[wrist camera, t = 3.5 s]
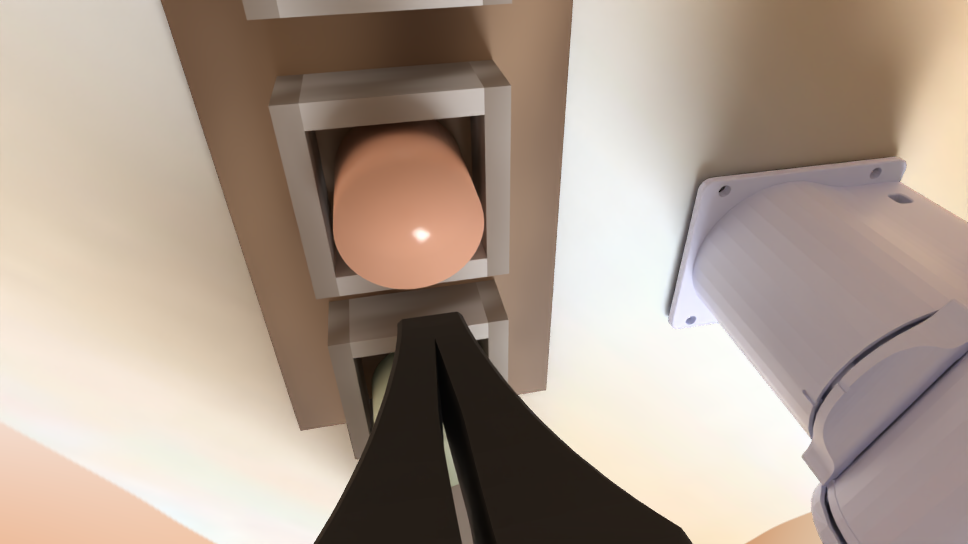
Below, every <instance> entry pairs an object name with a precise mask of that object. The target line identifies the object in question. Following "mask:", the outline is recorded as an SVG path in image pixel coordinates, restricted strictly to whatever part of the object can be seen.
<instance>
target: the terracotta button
mask: <svg viewBox="0 0 968 544" xmlns="http://www.w3.org/2000/svg"><path fill="white" fill-rule="evenodd" d="M483 230H484V215H483V209H482V205H481V203H480V200H479V197H478V195H477V192H476V190H475V187H474V185H473V182H472V180H471V177H470V174H469V172H468V169H467V167H466V164H465V162H464V159H463V157H462V154H461V151H460V149H459V147H458V144H457V142H456V141H455V139H454V137H453V136H452V135H451V133H450V132H449V131H448V130H447V129H446V128H445V127H444V126H443V125H442V124H440V123H439V122H437V121H436V120H434V119H432V120H421V121H410V122H400V123H389V124H378V125H367V126H356V127H353V128H352V129H351V130H350V131H349V132H348V133H347V135H346V136H345V138H344V139H343V140H342V142H341V144H340V146H339V148H338V151H337V154H336V158H335V168H334V206H333V235H334V240H335V244H336V247H337V249H338V251H339V254H340V255H341V257H342V258H343V260H344V262H345V263H346V264H347V265H348V266H349V267H350V268H351V269H352V270H353V271H354V272H355V273H356V274H358V275H359V276H361V277H362V278H364V279H366V280H368V281H370V282H372V283H374V284H377V285H380V286H384V287H388V288H394V289H417V288H423V287H427V286H431V285H434V284H437V283H439V282H441V281H444V280H446V279H447V278H449V277H451V276H452V275H454V274H455V273H457V272H458V271H459V270H460V269H462V268H463V267H464V266H465V265H466V264H467V263H468V262H469V260H470V259H471V258H472V256H473V255H474V254H475V252H476V250H477V248H478V246H479V244H480V241H481V238H482V235H483Z"/></svg>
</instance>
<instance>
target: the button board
mask: <svg viewBox="0 0 968 544" xmlns="http://www.w3.org/2000/svg"><path fill="white" fill-rule="evenodd" d="M161 2H162V5H163V8H164V11H165V14H166V17H167V21H168V24H169V27H170V30H171V33H172V36H173V39H174V42H175V45H176V48H177V51H178V54H179V58H180V61H181V64H182V67H183V70H184V73H185V76H186V79H187V82H188V85H189V88H190V91H191V95H192V98H193V101H194V104H195V107H196V110H197V113H198V116H199V119H200V122H201V125H202V128H203V132H204V135H205V138H206V141H207V144H208V147H209V150H210V153H211V156H212V159H213V162H214V165H215V169H216V172H217V175H218V178H219V181H220V184H221V187H222V190H223V193H224V196H225V199H226V202H227V206H228V209H229V212H230V215H231V218H232V221H233V224H234V227H235V230H236V233H237V236H238V239H239V243H240V246H241V249H242V252H243V255H244V258H245V261H246V264H247V267H248V270H249V273H250V276H251V280H252V283H253V286H254V289H255V292H256V295H257V298H258V301H259V304H260V307H261V310H262V313H263V317H264V320H265V323H266V326H267V329H268V332H269V335H270V338H271V341H272V344H273V347H274V350H275V354H276V357H277V360H278V363H279V366H280V369H281V372H282V375H283V378H284V381H285V384H286V387H287V391H288V394H289V397H290V400H291V403H292V406H293V409H294V412H295V415H296V418H297V421H298V424H299V428H300V431H302V430H308V429H314V428H320V427H326V426H332V425H338V424H344V423H347V427H348V431H349V435H350V439H351V443H352V447H353V451H354V455H355V459H360V457H361V455H362V453H363V450H364V448H365V446H366V443H367V441H368V438H369V436H370V433H371V431H372V428H373V426H374V417H373V399H372V377H373V373H374V371H375V369H376V367H377V366H378V364H379V363H380V362H381V361H382V360H383V359H384V358H385V357H386V356H387V355H389V354H390V353H392V352H395V348H396V342H397V324H398V323H399V322H400V321H401V320H402V319H407V318H414V317H421V316H428V315H435V314H442V313H449V312H459V313H460V314H462V315H463V317H464V319H465V321H466V323H467V325H468V327H469V329H470V331H471V332H472V334H473V336H474V337H475V339H476V340H477V342H478V343H479V345H480V346H481V348H482V349H483V351H484V352H485V354H486V355H487V357H488V358H489V359H490V361H491V362H492V363H493V365H494V366H495V367H496V369H497V370H498V371H499V373H500V374H501V375H502V377H503V378H504V379H505V380H506V382H507V383H508V384H509V385H510V386H511V388H512V389H513V390H514V391H515V392H516V394H517V395H519V394H525V393H531V392H537V391H543V390H546V384H547V369H548V355H549V340H550V326H551V311H552V297H553V282H554V268H555V253H556V239H557V224H558V210H559V195H560V181H561V166H562V152H563V137H564V123H565V108H566V94H567V79H568V65H569V50H570V36H571V22H572V7H573V0H161ZM432 119H434V120H436V121H437V122H439V123H440V124H442V125H443V126H444V127H445V128H446V129H447V130H448V131H449V132H450V133H451V135H452V136H453V137H454V139H455V141H456V142H457V144H458V147H459V149H460V151H461V154H462V157H463V159H464V162H465V164H466V167H467V169H468V172H469V174H470V177H471V180H472V182H473V185H474V187H475V190H476V192H477V195H478V197H479V200H480V203H481V205H482V209H483V215H484V230H483V235H482V238H481V241H480V244H479V246H478V248H477V250H476V252H475V254H474V255H473V256H472V258H471V259H470V260H469V262H468V263H467V264H466V265H465V266H464V267H463V268H462V269H460V270H459V271H458V272H457V273H455V274H454V275H452V276H451V277H449V278H447V279H446V280H444V281H441V282H439V283H437V284H434V285H431V286H427V287H423V288H417V289H394V288H388V287H384V286H380V285H377V284H374V283H372V282H370V281H368V280H366V279H364V278H362V277H361V276H359V275H358V274H356V273H355V272H354V271H353V270H352V269H351V268H350V267H349V266H348V265H347V264H346V263H345V262H344V260H343V258H342V257H341V255H340V254H339V251H338V249H337V247H336V244H335V240H334V235H333V206H334V168H335V158H336V154H337V151H338V148H339V146H340V144H341V142H342V140H343V139H344V138H345V136H346V135H347V133H348V132H349V131H350V130H351V129H352V128H353V127H356V126H367V125H378V124H389V123H400V122H410V121H421V120H432Z"/></svg>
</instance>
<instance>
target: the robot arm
mask: <svg viewBox="0 0 968 544" xmlns="http://www.w3.org/2000/svg"><path fill="white" fill-rule="evenodd" d="M906 166H907V164H906V161H904V160H903V159H901V158H899V157H888V158H879V159H870V160H862V161H853V162H844V163H835V164H827V165H818V166H809V167H800V168H792V169H783V170H774V171H765V172H757V173H748V174H739V175H730V176H722V177H713V178H709V179H707V180H705V181H703V182H702V184H701V185H700V186H699V189H698V192H697V196H696V201H695V205H694V209H693V214H692V218H691V222H690V227H689V231H688V235H687V240H686V244H685V249H684V253H683V257H682V262H681V266H680V270H679V275H678V279H677V283H676V288H675V292H674V296H673V301H672V305H671V309H670V314H669V318H668V322H669V323H670V324H671V326H672V327H673V328H675V329H682V328H688V327H694V326H701V325H707V324H714V323H719V324H720V325H721V326H722V327H723V329H724V330H725V331H726V332H727V334H728V335H729V336H730V337H731V339H732V340H733V341H734V342H735V344H736V345H737V346H738V347H739V349H740V350H741V351H742V352H743V354H744V355H745V356H746V357H747V359H748V360H749V361H750V362H751V364H752V365H753V366H754V367H755V369H756V370H757V371H758V373H759V374H760V375H761V376H762V378H763V379H764V380H765V381H766V383H767V384H768V385H769V386H770V388H771V389H772V390H773V391H774V393H775V394H776V395H777V396H778V398H779V399H780V400H781V401H782V403H783V404H784V405H785V406H786V408H787V409H788V410H789V411H790V413H791V414H792V415H793V416H794V418H795V419H796V420H797V422H798V423H799V424H800V425H801V427H802V428H803V429H804V430H805V432H806V433H807V434H808V435H809V437H810V438H811V439H812V442H811V444H810V445H809V447H808V449H807V450H806V451H805V452H804V453H803V455H802V458H803V460H804V461H805V462H806V464H807V465H808V466H809V468H810V469H811V470H812V472H813V473H814V474H815V476H816V477H817V478H818V480H819V481H820V483H819V484H818V486H817V487H816V488H815V490H814V492H813V495H812V499H811V511H812V515H813V520H814V523H815V526H816V529H817V532H818V534H819V537H820V539H821V541H822V543H823V544H968V222H966V221H965V220H963V219H961V218H960V217H958V216H956V215H955V214H953V213H951V212H950V211H948V210H946V209H944V208H943V207H941V206H939V205H938V204H936V203H934V202H933V201H931V200H929V199H928V198H926V197H924V196H923V195H921V194H919V193H918V192H916V191H914V190H913V189H911V188H909V187H908V186H906V185H904V184H903V183H901V182H900V181H901V178H902V176H903V174H904V172H905V170H906ZM872 171H873V172H872ZM723 186H725V188H724V190H722V191H721V192H719V191H720V189H721V188H722V187H723ZM689 317H690V318H689ZM443 425H444V429H445V433H446V437H447V440H448V444H449V448H450V452H451V455H452V459H453V463H454V467H455V470H456V474H457V478H458V481H459V485H460V489H461V493H462V496H463V500H464V504H465V507H466V511H467V516H468V520H469V524H470V529H471V534H472V540H473V544H692V542H691V541H690V539H689V538H688V536H687V535H686V534H685V532H684V531H683V529H682V528H681V527H679V526H677V525H676V524H674V523H673V522H671V521H669V520H668V519H666V518H665V517H663V516H661V515H660V514H658V513H657V512H655V511H653V510H652V509H650V508H649V507H647V506H646V505H644V504H643V503H641V502H640V501H638V500H637V499H635V498H634V497H633V496H631V495H630V494H628V493H627V492H626V491H624V490H623V489H621V488H620V487H619V486H617V485H616V484H615V483H613V482H612V481H610V480H609V479H608V478H607V477H605V476H604V475H603V474H602V473H600V472H599V471H598V470H597V469H595V468H594V467H593V466H592V465H590V464H589V463H588V462H587V461H585V460H584V459H583V458H582V457H580V456H579V455H578V454H577V453H576V452H574V451H573V450H572V449H571V448H570V447H569V446H568V445H567V444H565V443H564V442H563V441H562V440H561V439H560V438H559V437H558V436H557V435H556V434H555V433H554V432H552V431H551V430H550V429H549V428H548V427H547V426H546V425H545V424H544V423H543V422H542V421H541V420H540V419H539V418H538V417H537V416H536V415H535V414H534V412H533V411H532V410H531V409H530V408H529V407H528V406H527V405H526V404H525V403H524V402H523V400H522V399H521V398H520V397H519V396H518V395H517V394H516V392H515V391H514V390H513V389H512V388H511V386H510V385H509V384H508V383H507V382H506V380H505V379H504V378H503V377H502V375H501V374H500V373H499V371H498V370H497V369H496V367H495V366H494V365H493V363H492V362H491V361H490V359H489V358H488V357H487V355H486V354H485V352H484V351H483V349H482V348H481V346H480V345H479V343H478V342H477V340H476V339H475V337H474V336H473V334H472V332H471V331H470V329H469V327H468V325H467V323H466V321H465V319H464V317H463V315H462V314H460V313H459V312H449V313H442V314H435V315H428V316H421V317H414V318H407V319H402V320H401V321H400V322H399V323H398V324H397V342H396V348H395V354H394V359H393V364H392V368H391V372H390V376H389V379H388V383H387V387H386V390H385V394H384V397H383V400H382V403H381V406H380V409H379V411H378V414H377V417H376V420H375V423H374V426H373V428H372V431H371V433H370V436H369V438H368V441H367V443H366V446H365V448H364V450H363V453H362V455H361V457H360V459H359V462H358V464H357V466H356V468H355V470H354V472H353V474H352V476H351V478H350V480H349V482H348V484H347V486H346V488H345V490H344V492H343V494H342V496H341V498H340V500H339V502H338V503H337V505H336V507H335V509H334V511H333V512H332V514H331V516H330V518H329V519H328V521H327V522H326V524H325V526H324V527H323V529H322V531H321V532H320V534H319V536H318V537H317V539H316V541H315V542H314V544H462V540H461V535H460V530H459V525H458V520H457V515H456V510H455V504H454V499H453V494H452V489H451V483H450V478H449V473H448V467H447V462H446V457H445V451H444V436H443Z"/></svg>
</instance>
